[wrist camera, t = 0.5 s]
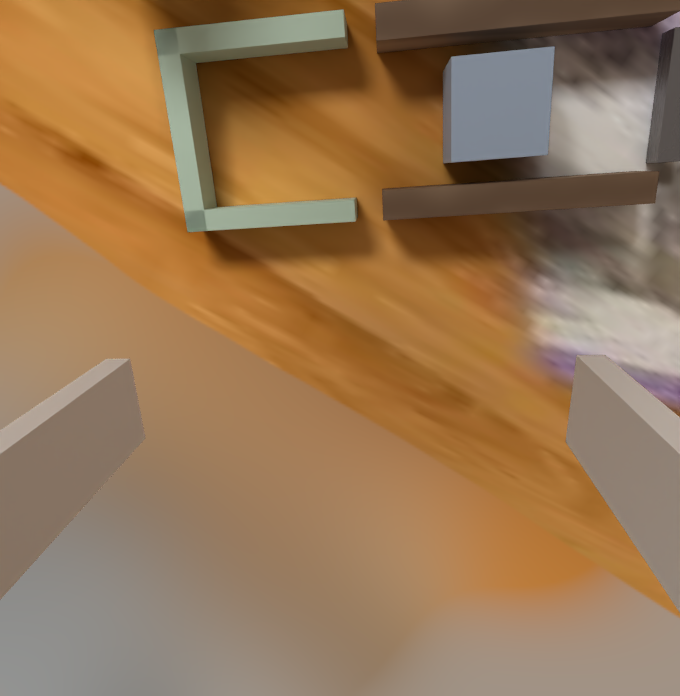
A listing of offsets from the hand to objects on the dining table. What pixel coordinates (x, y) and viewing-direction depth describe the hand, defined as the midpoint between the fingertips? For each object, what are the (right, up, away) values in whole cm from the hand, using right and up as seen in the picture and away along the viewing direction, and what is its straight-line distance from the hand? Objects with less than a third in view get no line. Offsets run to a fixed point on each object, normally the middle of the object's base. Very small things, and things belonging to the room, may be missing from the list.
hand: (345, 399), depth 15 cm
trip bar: (+22, +18, +19) cm, 35 cm away
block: (+10, +18, +21) cm, 29 cm away
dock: (-5, +17, +22) cm, 29 cm away
